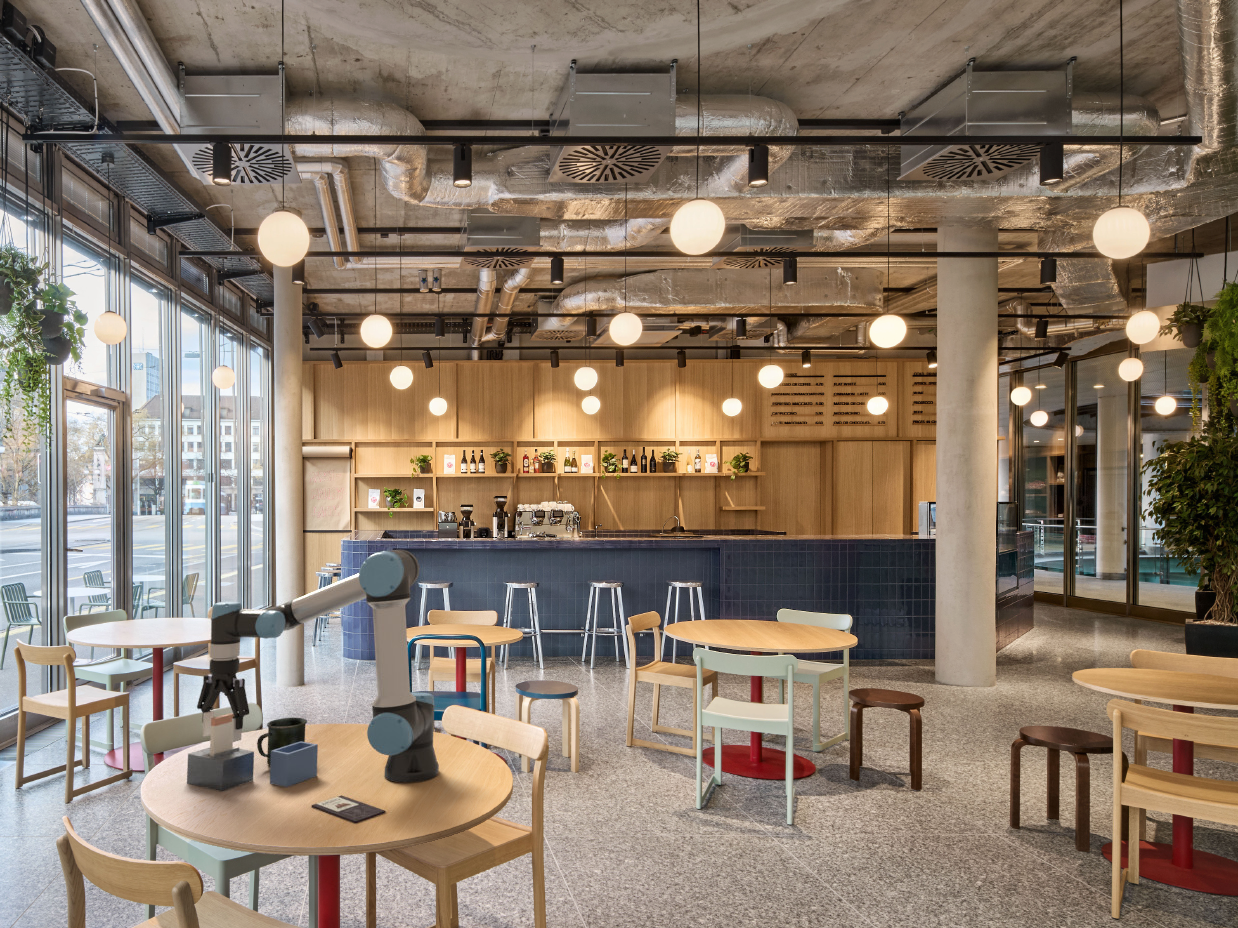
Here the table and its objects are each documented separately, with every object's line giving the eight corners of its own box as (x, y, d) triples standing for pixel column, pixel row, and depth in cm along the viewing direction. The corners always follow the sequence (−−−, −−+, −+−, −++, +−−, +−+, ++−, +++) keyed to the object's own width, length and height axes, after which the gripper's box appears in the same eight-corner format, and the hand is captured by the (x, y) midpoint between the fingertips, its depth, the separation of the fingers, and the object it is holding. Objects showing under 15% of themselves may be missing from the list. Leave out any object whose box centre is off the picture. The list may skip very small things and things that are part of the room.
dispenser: (253, 780, 230) (254, 748, 230) (221, 791, 221) (223, 758, 221) (218, 772, 236) (219, 741, 236) (186, 783, 227) (188, 750, 228)
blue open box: (316, 775, 235) (317, 744, 235) (286, 786, 225) (288, 754, 226) (299, 772, 238) (300, 741, 238) (269, 783, 228) (270, 750, 228)
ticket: (231, 771, 231) (233, 713, 232) (212, 778, 226) (215, 718, 226) (227, 770, 232) (230, 713, 232) (208, 777, 226) (211, 718, 227)
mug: (313, 761, 247) (314, 721, 248) (267, 774, 236) (268, 731, 236) (292, 754, 254) (294, 715, 254) (247, 766, 242) (248, 724, 243)
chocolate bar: (355, 821, 200) (311, 804, 211) (355, 825, 200) (311, 808, 211) (385, 810, 208) (341, 795, 218) (385, 814, 208) (341, 798, 218)
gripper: (265, 659, 228) (262, 740, 227) (208, 652, 239) (205, 729, 238) (242, 664, 222) (239, 747, 221) (184, 656, 232) (181, 735, 231)
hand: (221, 737), depth 229 cm, fingers open, 11 cm apart
